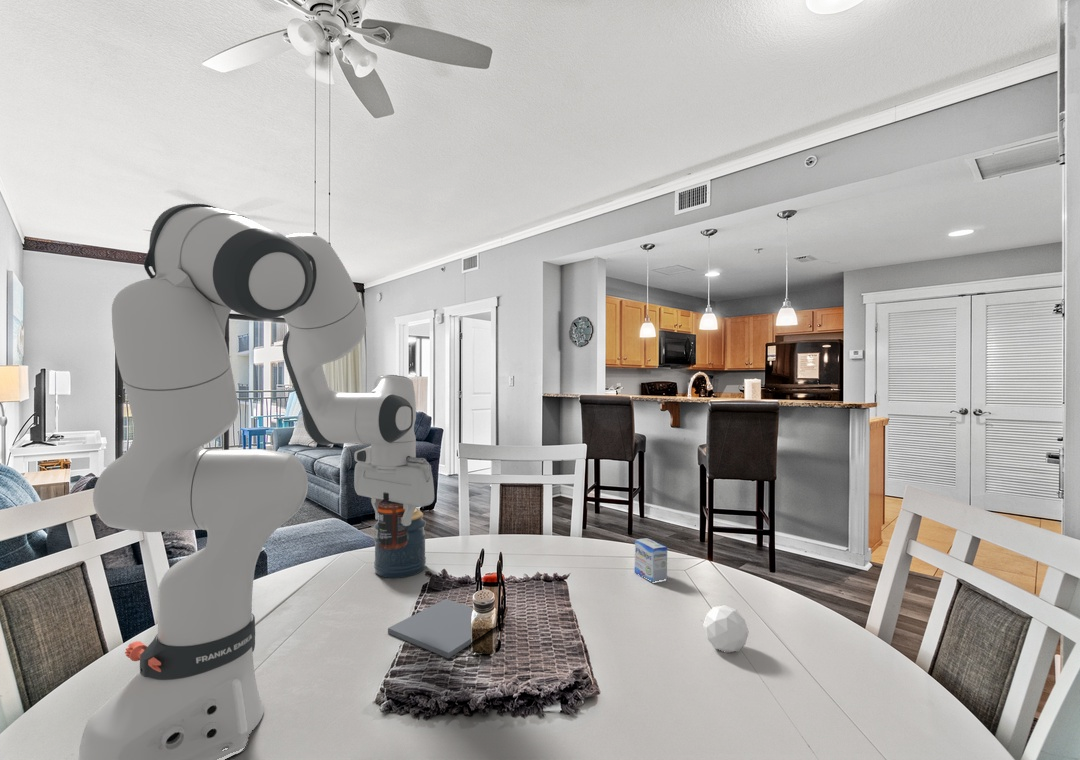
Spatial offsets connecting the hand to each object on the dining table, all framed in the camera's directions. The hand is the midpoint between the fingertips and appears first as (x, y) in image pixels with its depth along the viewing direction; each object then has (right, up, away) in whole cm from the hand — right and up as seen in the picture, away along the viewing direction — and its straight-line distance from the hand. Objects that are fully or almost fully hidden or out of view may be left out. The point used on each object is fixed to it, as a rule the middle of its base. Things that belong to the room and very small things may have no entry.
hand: (392, 522), depth 103 cm
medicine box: (+58, -21, +24) cm, 66 cm away
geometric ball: (+64, -21, -10) cm, 68 cm away
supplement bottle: (0, -5, 0) cm, 5 cm away
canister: (-6, -21, +28) cm, 35 cm away
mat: (+12, -20, -3) cm, 23 cm away
